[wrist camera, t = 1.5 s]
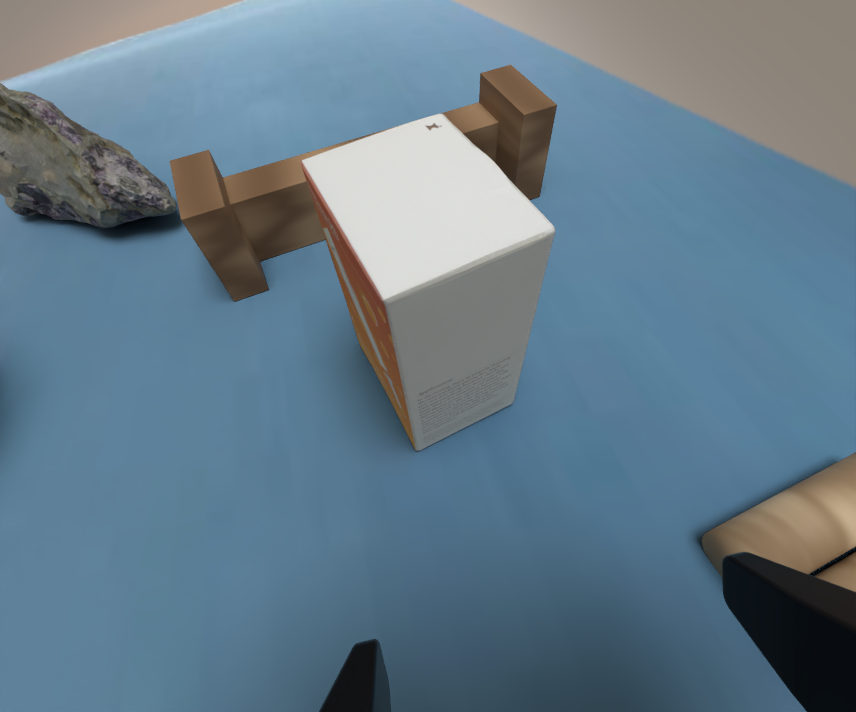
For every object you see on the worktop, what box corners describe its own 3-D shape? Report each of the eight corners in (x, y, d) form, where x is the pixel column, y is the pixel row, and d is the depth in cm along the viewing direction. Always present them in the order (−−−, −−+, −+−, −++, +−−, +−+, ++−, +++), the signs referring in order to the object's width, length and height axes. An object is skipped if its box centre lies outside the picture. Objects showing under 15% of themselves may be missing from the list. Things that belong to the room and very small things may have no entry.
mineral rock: (195, 229, 35) (112, 96, 26) (52, 297, 32) (-96, 171, 23) (143, 154, 41) (61, 26, 32) (18, 205, 38) (-109, 78, 29)
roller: (702, 563, 21) (764, 617, 18) (701, 517, 20) (767, 568, 17) (845, 485, 23) (922, 524, 20) (852, 437, 21) (935, 472, 19)
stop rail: (234, 301, 30) (181, 219, 24) (220, 245, 33) (169, 160, 28) (539, 196, 35) (557, 104, 29) (502, 155, 38) (510, 64, 32)
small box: (358, 346, 28) (295, 156, 17) (448, 307, 29) (443, 106, 18) (415, 457, 24) (381, 301, 13) (516, 406, 25) (563, 224, 14)
